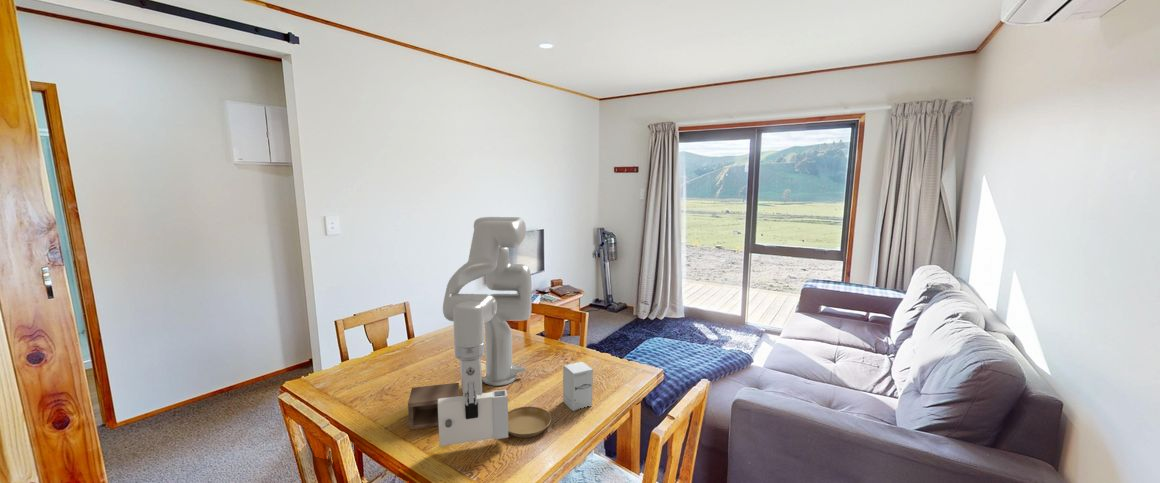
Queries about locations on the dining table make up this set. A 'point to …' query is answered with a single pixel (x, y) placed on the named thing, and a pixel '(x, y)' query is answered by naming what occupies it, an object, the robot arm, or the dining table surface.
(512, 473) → the dining table surface
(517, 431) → the plant saucer
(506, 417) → the door
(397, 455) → the dining table surface
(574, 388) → the supplement box
